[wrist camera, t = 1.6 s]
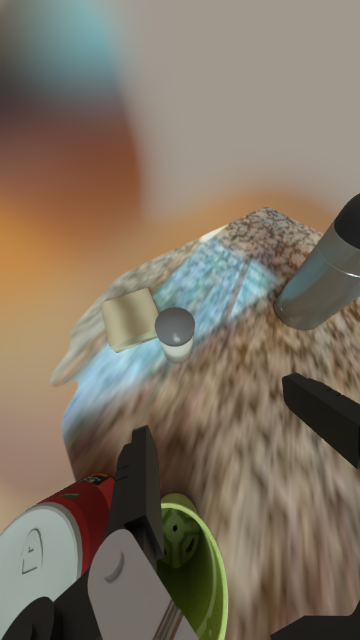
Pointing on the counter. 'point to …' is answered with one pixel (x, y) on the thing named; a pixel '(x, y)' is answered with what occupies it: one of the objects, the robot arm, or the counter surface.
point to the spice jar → (175, 334)
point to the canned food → (52, 544)
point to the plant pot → (193, 568)
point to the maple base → (130, 319)
